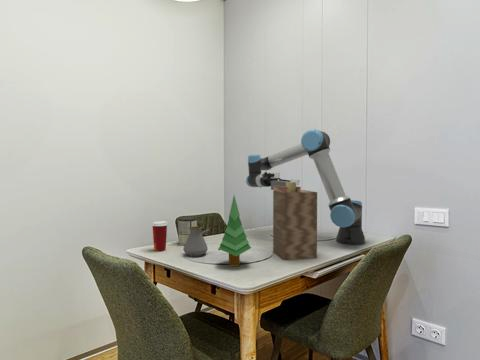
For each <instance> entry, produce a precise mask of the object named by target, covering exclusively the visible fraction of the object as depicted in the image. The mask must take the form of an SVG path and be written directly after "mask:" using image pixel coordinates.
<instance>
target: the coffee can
mask: <svg viewBox="0 0 480 360" xmlns="http://www.w3.org/2000/svg"><path fill="white" fill-rule="evenodd" d="M177 220H178V221H177V222H178V223H177V224H178V227H177V228H178V229H177V230H178V245H179V246H183V247H184V246H185V244H186V241H187V239H188V236H189V234H190V229H189V227H198V217H196V216H181V217H178V218H177Z"/></svg>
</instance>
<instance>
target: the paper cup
mask: <svg viewBox="0 0 480 360" xmlns="http://www.w3.org/2000/svg"><path fill="white" fill-rule="evenodd" d="M151 226H152V234H153V235H152V238H153V250H154V251H155V252H164V251H166V249H167V234H168V233H167V232H168V231H167V230H168V221H164V220H162V221H161V220H160V221H153V222H152V224H151Z"/></svg>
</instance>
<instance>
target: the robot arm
mask: <svg viewBox="0 0 480 360" xmlns="http://www.w3.org/2000/svg"><path fill="white" fill-rule="evenodd" d="M330 145H331V138H330V135H328V133H327V132H325V131H322V130H319V129H316V128H314V129H313V128H312V129H308V130H306V131H305V132H304V133H303V135H302V136H301V139H300V143H299V144H296V145H293V146H292V147H288V148H286V149H284V150H281V151H279V152H276V153H274V154H270V155H269V156H266V157H264V158H263V157H261V155H260V154H249V155H248V156H247V166H248V175H247V177H246V179H245V182H246V185H247V186H248V187H250V188H251V187H252V188H262V187H263V188H264V187H265V188H266V187H267V188H271V181H287V182H296V186H298V185H300V179H290V180H289V179H282V178H280V175H281V173H280V172H272V173H271V172H267V171H271V169H273V168H275V167H278V166H281V165H284V164H286V163H288V162H291V161H293V160H294V161H295V160H298V159H300V158H302V157H304V156H308V158H310V159H312V160H313V162H314V165H315V167H316V169H317V172H318V175H319V177H320V180H321V182H322V185H323V187H324V189H325V193H326V195H327V197H328V200H329V203H328V208H329V210H330V213H329V217H330V220H331V223H333V224H334V225H335V226H336V227H339V229H338V231H337V233H336V239H335V240H336V242H337V243H341V244H345V245H362V244H365V243H366V237H365V235H364V231H363V227H362V226H363V224H362V221H363V203H362V201H361V200H353V199H352V200H351V197H350V196H348V195H346V192H345V190H344V188H343V185H342V183H341V180H340V178H339V175H338V173H337V170H336V168H335V165H334V163H333V161H332V158H331V156H330V151H331V148H330ZM262 171H265V172H264V173H262Z"/></svg>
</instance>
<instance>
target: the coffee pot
mask: <svg viewBox="0 0 480 360" xmlns="http://www.w3.org/2000/svg"><path fill="white" fill-rule="evenodd" d="M222 224H224V225H226V222H225V220H222V221H219V222H218V223H216V224H214V225H212V226H211V227H208V228H207V229H205V230H203V231H202V229H203V226H197V227H189V229H190V234H189V236H188V239H187V241H186V244H185V246H183V249H182V250H183V252H184V253H185V254H186V255H187V256H188V257H192V256H197V257H201V255H202V256H204V255H205V254H206V253H207V251H208V249H209V248H208V245H207V243H206V241H205V238H204V236H203V235H204V234H206V233H207V232H208V231H210V230H213V229H215V228H217V227H218V226H220V225H222ZM203 254H204V255H203Z"/></svg>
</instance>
